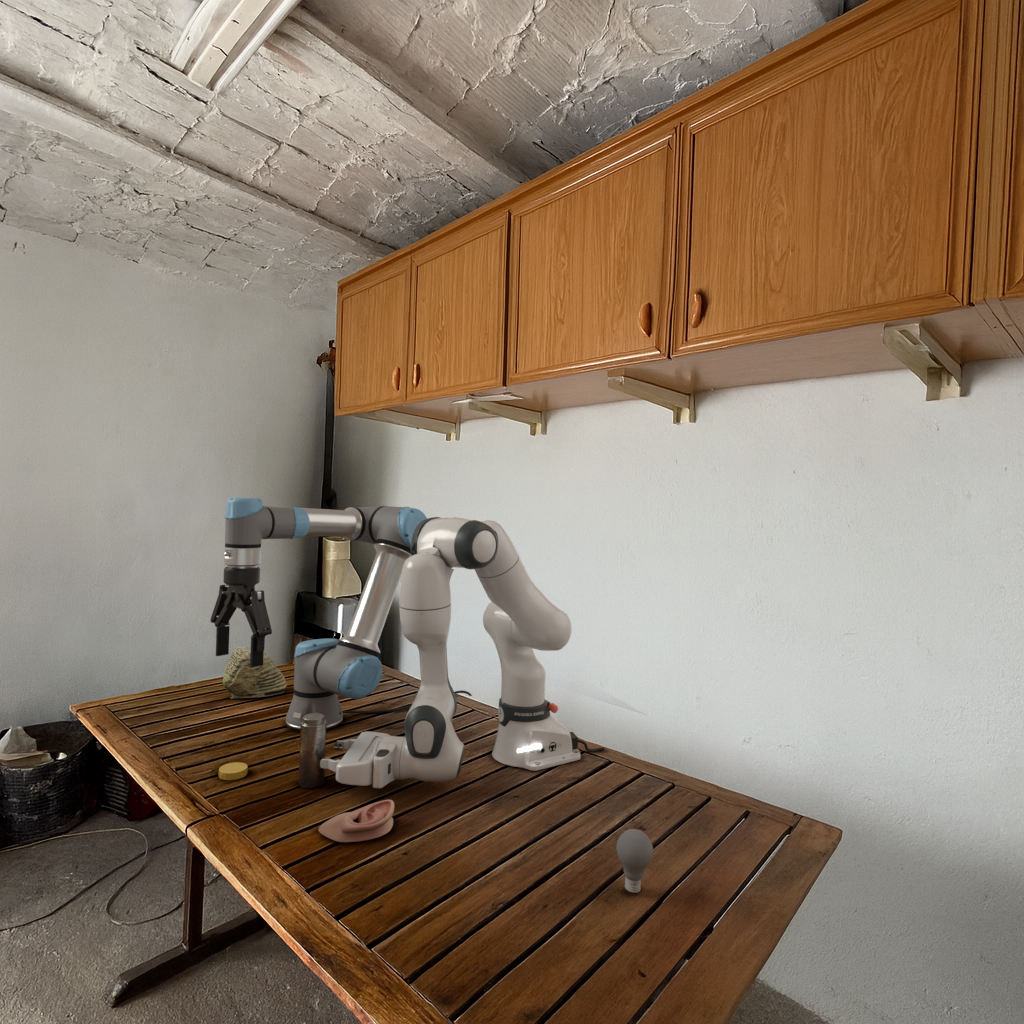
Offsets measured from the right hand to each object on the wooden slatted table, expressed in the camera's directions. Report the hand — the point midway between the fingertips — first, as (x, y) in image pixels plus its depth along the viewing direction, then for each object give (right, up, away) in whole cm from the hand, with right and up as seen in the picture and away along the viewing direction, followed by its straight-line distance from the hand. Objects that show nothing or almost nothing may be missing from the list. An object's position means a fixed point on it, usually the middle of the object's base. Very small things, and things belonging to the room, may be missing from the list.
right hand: (328, 753), depth 140 cm
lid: (-22, -4, +2) cm, 23 cm away
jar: (-4, -6, 0) cm, 7 cm away
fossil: (-40, -4, +58) cm, 71 cm away
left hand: (-21, +20, +2) cm, 29 cm away
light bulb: (+61, -10, -34) cm, 70 cm away
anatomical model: (+11, -7, -18) cm, 23 cm away
